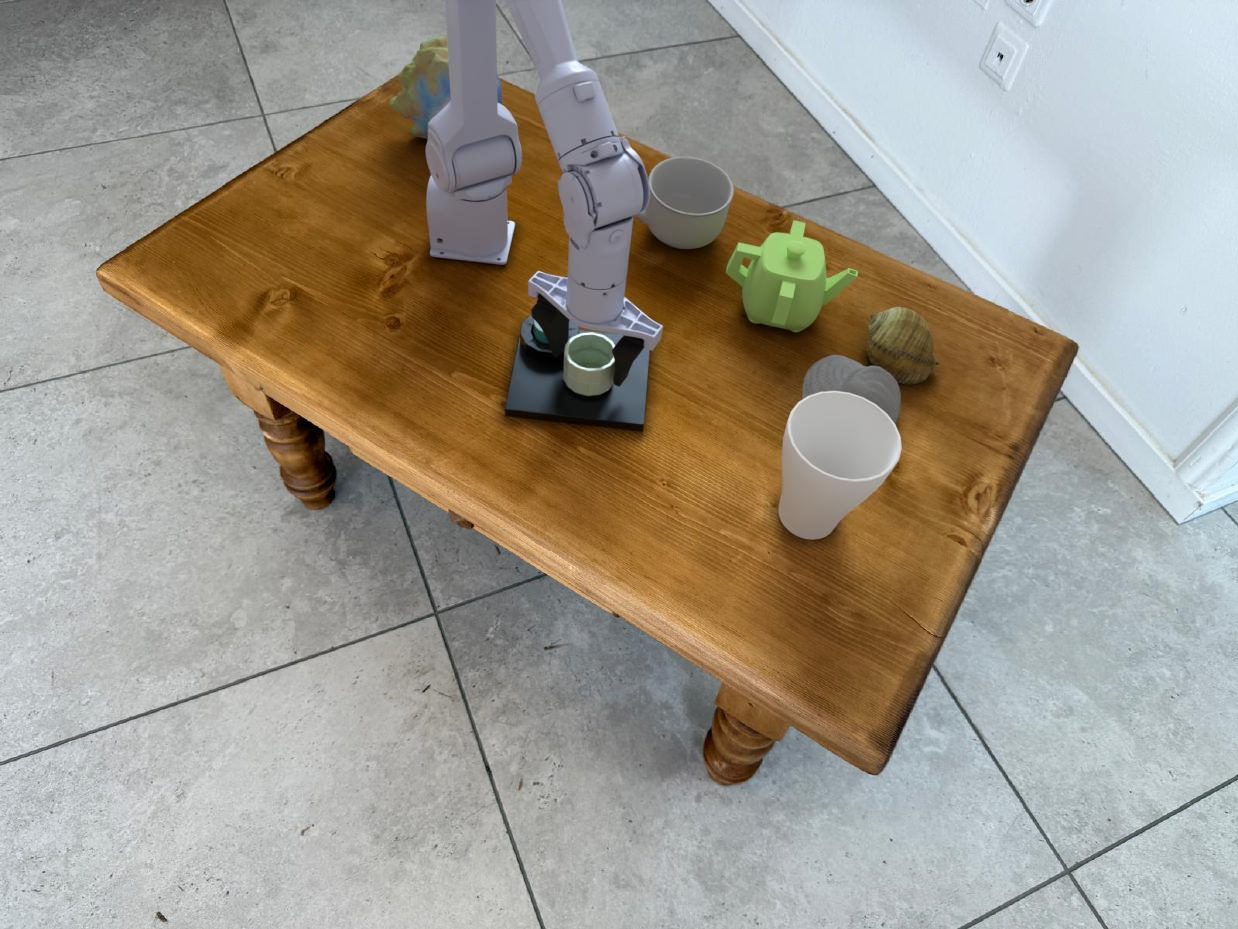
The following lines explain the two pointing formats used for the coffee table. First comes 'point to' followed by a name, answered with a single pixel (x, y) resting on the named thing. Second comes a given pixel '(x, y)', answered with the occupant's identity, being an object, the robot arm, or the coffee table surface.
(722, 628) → the coffee table surface
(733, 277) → the teapot
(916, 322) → the seashell
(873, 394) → the seashell
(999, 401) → the coffee table surface
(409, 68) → the decorative rock
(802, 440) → the cup
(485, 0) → the robot arm
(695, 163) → the teacup
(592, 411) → the scale
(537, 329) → the button
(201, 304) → the coffee table surface
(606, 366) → the pale green handleless cup
